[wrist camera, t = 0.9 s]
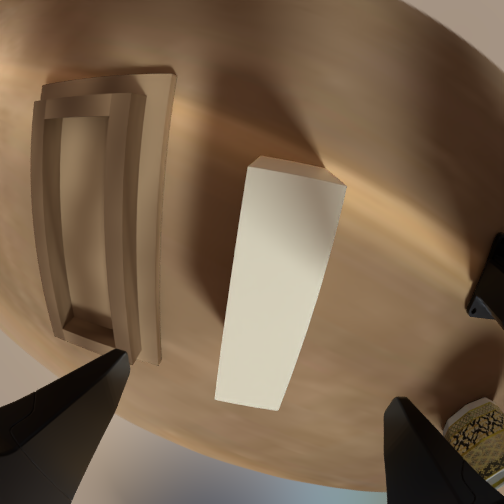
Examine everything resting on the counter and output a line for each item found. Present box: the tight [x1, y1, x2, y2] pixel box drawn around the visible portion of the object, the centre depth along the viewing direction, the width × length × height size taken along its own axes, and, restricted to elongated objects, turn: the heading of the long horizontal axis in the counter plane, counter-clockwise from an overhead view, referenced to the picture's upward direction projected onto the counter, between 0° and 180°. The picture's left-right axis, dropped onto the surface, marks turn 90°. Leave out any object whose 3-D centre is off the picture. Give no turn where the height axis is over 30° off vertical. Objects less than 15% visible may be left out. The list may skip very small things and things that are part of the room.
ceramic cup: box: [443, 397, 504, 490], centre depth 18 cm, size 13×10×10 cm
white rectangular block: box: [215, 155, 347, 411], centre depth 15 cm, size 4×12×6 cm, turn 171°
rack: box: [31, 74, 177, 366], centre depth 17 cm, size 10×20×3 cm, turn 171°
